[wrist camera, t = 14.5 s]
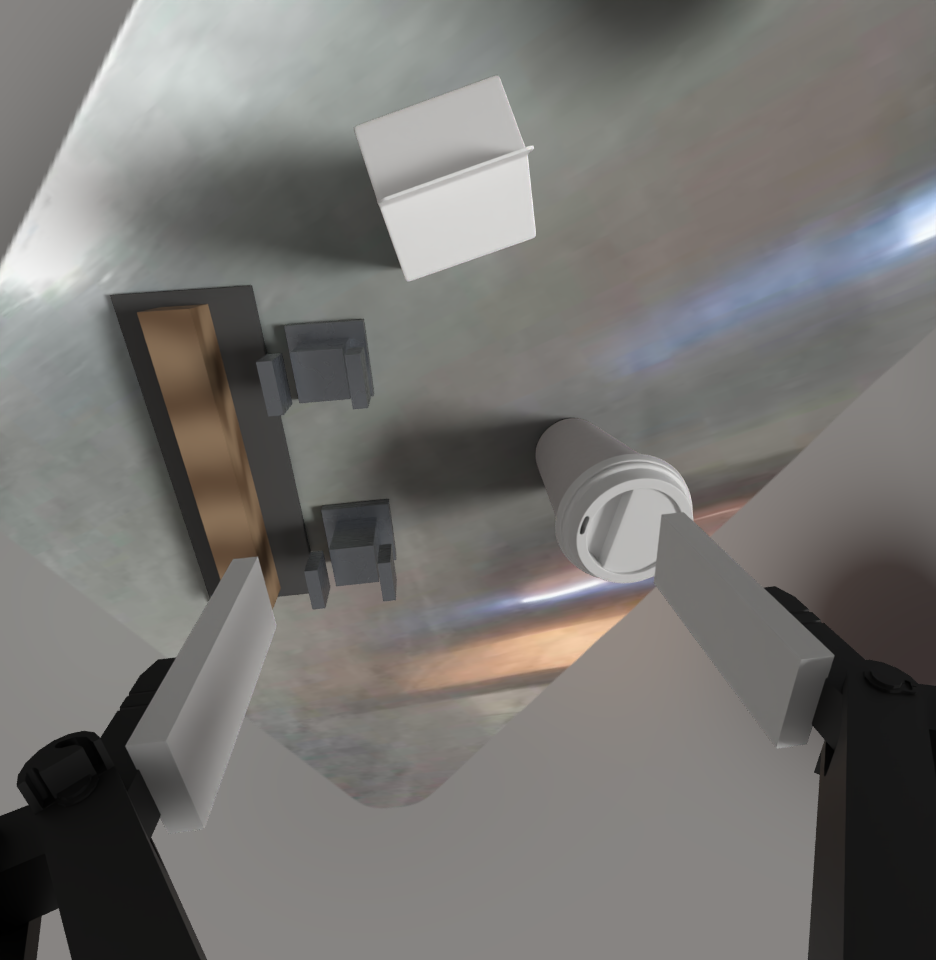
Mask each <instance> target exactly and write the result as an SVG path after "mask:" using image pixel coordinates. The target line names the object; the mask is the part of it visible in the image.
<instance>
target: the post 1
mask: <svg viewBox="0 0 936 960" xmlns="http://www.w3.org/2000/svg"><path fill="white" fill-rule="evenodd" d="M284 328H285V333H286V338H287V343H288V348H289V354H290V359H291V364H292V369H293V374H294V379H295V384H296V389H297V394H298V399H299V403H308V402H320V401H332V400H343V399H350V398H351V399H352V406H353V409H361V408H368V406H369V402H370V399H371V396H374V388H373V381H372V373H371V366H370V359H369V352H368V344H367V337H366V330H365V323H364V319H356V320H342V321H329V322H315V323H301V324H288V325H285V326H284ZM256 365H257V370H258V374H259V378H260V383H261V387H262V391H263V396H264V400H265V404H266V409H267V413H268V416H279V415H284V414H285V413H286V411H287V410H288V409H289V407H290V406H291V405H292V400H291V395H290V390H289V385H288V380H287V376H286V371H285V366H284V361H283V356H282V353H276V354H267V355H265V356H264V357H262V358H261V359H260V360H258V361H257V362H256Z"/></svg>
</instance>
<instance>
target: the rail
mask: <svg viewBox="0 0 936 960" xmlns="http://www.w3.org/2000/svg"><path fill="white" fill-rule="evenodd" d="M137 315H138V318H139V321H140V324H141V327H142V331H143V334H144V337H145V340H146V343H147V347H148V350H149V353H150V356H151V359H152V363H153V366H154V369H155V372H156V375H157V378H158V382H159V385H160V388H161V391H162V394H163V398H164V401H165V404H166V407H167V410H168V414H169V417H170V420H171V423H172V426H173V430H174V433H175V436H176V439H177V442H178V446H179V449H180V452H181V455H182V458H183V461H184V465H185V468H186V471H187V474H188V477H189V481H190V484H191V487H192V490H193V493H194V497H195V500H196V503H197V506H198V509H199V513H200V516H201V519H202V522H203V525H204V529H205V532H206V535H207V538H208V541H209V545H210V548H211V551H212V554H213V557H214V560H215V564H216V567H217V570H218V573H219V576H220V580H221V579H222V577H223V576H224V574H225V572H226V570H227V569H228V567H229V565H230V563H231V562H232V560H233V559H240V558H249V557H258V559H259V563H260V566H261V570H262V574H263V577H264V581H265V585H266V588H267V592H268V596H269V599H270V603H271V607H272V610H273V607H274V604H275V602H276V599H277V597H278V594H279V591H280V589H281V587H280V583H279V579H278V576H277V572H276V568H275V564H274V560H273V556H272V552H271V548H270V544H269V540H268V537H267V533H266V529H265V525H264V521H263V517H262V513H261V509H260V505H259V501H258V497H257V494H256V490H255V486H254V482H253V478H252V474H251V470H250V466H249V462H248V458H247V455H246V451H245V447H244V443H243V439H242V435H241V431H240V427H239V423H238V419H237V416H236V412H235V408H234V404H233V400H232V396H231V392H230V388H229V384H228V380H227V377H226V373H225V369H224V365H223V361H222V357H221V353H220V349H219V345H218V341H217V337H216V334H215V330H214V326H213V322H212V318H211V314H210V310H209V306H208V304H202V305H188V306H173V307H159V308H155V309H150V310H146V311H141V312H137Z"/></svg>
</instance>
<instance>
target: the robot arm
mask: <svg viewBox="0 0 936 960" xmlns="http://www.w3.org/2000/svg"><path fill="white" fill-rule="evenodd" d="M654 584H655V585H656V587H657V588H658V589H659V590H660V592H661V593H662V595H663V596H664V597H665V599H666V600H667V601H668V603H669V604H670V606H671V607H672V608H673V610H674V611H675V612H676V613H677V615H678V616H679V618H680V619H681V620H682V622H683V623H684V624H685V626H686V627H687V629H688V630H689V631H690V633H691V634H692V635H693V637H694V638H695V639H696V641H697V642H698V643H699V645H700V646H701V647H702V649H703V650H704V652H705V653H706V654H707V656H708V657H709V658H710V660H711V661H712V662H713V663H714V665H715V666H716V668H717V669H718V671H719V672H720V673H721V675H722V676H723V677H724V679H725V680H726V681H727V683H728V684H729V685H730V687H731V688H732V689H733V691H734V692H735V694H736V695H737V696H738V698H739V699H740V700H741V702H742V703H743V704H744V706H745V707H746V708H747V710H748V711H749V712H750V714H751V715H752V717H753V718H754V719H755V721H756V722H757V723H758V725H759V726H760V727H761V729H762V730H763V731H764V733H765V734H766V736H767V737H768V738H769V740H770V741H771V742H772V744H773V745H774V746H775V748H784V747H790V746H798V745H805V744H807V742H808V739H809V736H810V732H811V729H812V726H814V728H815V729H816V730H817V731H818V732H819V733H820V735H821V736H822V737H823V738H824V739H825V741H824V744H823V747H822V750H821V753H820V756H819V759H818V762H817V765H816V768H815V771H814V773H817V774H819V775H820V780H819V796H818V811H817V827H816V842H815V857H814V873H813V889H812V904H811V920H810V935H809V936H810V937H809V952H808V960H936V686H932V685H923V684H918V683H917V682H916V681H915V680H913V679H912V677H910V676H909V675H908V674H906V673H904V672H902V671H901V670H899V669H898V668H896V667H893V666H890V665H888V664H885V663H882V662H878V661H873V660H865V659H864V658H863V657H861V656H860V655H859V654H858V653H857V652H856V651H855V650H854V649H853V648H851V647H850V646H849V645H848V644H847V643H846V642H845V641H844V640H842V639H841V638H840V637H839V636H838V635H837V634H836V633H835V632H834V631H832V630H831V629H830V628H829V627H828V626H827V625H826V624H825V623H821V620H820V619H819V618H818V617H817V616H816V615H815V614H813V613H812V612H809V609H808V608H807V607H806V606H804V605H803V604H802V603H801V602H800V601H799V600H798V599H797V598H796V597H794V596H792V595H790V594H789V593H786V592H785V591H783V590H781V589H779V588H777V587H775V586H774V587H766V588H763V587H762V586H761V585H760V584H759V583H758V582H757V581H756V580H755V579H754V578H753V577H752V576H750V575H749V574H748V573H747V572H746V571H745V570H744V569H743V568H742V567H741V566H740V565H739V564H738V563H737V562H736V561H735V560H734V559H733V558H731V557H730V556H729V555H728V554H727V553H726V552H725V551H724V550H723V549H722V548H721V547H720V546H719V545H718V544H717V543H716V542H715V541H714V540H712V539H711V538H710V537H709V536H708V535H707V534H706V533H705V532H704V531H703V530H702V529H701V528H700V527H699V526H698V525H697V524H696V523H695V522H694V521H692V520H691V519H690V518H689V517H688V516H687V515H686V514H685V513H684V512H680V513H671V514H661V523H660V532H659V541H658V550H657V559H656V568H655V577H654ZM276 626H277V625H276V622H275V618H274V614H273V611H272V607H271V603H270V599H269V596H268V592H267V588H266V585H265V581H264V577H263V574H262V570H261V566H260V563H259V559H258V557H249V558H240V559H233V560H232V562H231V563H230V565H229V567H228V569H227V570H226V572H225V574H224V576H223V577H222V579H221V581H220V582H219V584H218V586H217V588H216V589H215V591H214V593H213V595H212V596H211V598H210V600H209V602H208V603H207V605H206V607H205V608H204V610H203V612H202V614H201V615H200V617H199V619H198V621H197V622H196V624H195V626H194V628H193V629H192V631H191V633H190V634H189V636H188V638H187V640H186V641H185V643H184V645H183V647H182V648H181V650H180V652H179V654H178V655H177V657H176V658H168V659H159V660H157V661H156V662H155V663H154V664H153V665H151V666H150V667H149V668H148V669H147V670H146V671H145V672H144V673H142V674H141V675H140V676H139V678H138V680H137V681H136V683H135V684H134V686H133V688H132V689H131V691H130V692H129V696H127V697H126V698H125V700H124V702H123V703H122V705H121V706H120V711H117V713H116V714H115V716H114V717H113V719H112V720H111V722H110V724H109V725H108V727H107V728H106V730H105V731H104V733H103V735H102V736H101V738H100V737H99V736H98V735H97V734H96V733H94V732H88V731H81V732H76V733H71V734H68V735H65V736H63V737H61V738H59V739H57V740H54V741H52V742H51V743H49V744H48V745H46V746H45V747H43V748H42V749H40V750H39V751H38V752H37V753H36V754H35V755H34V756H32V758H30V760H28V761H27V762H26V763H25V765H24V767H23V768H22V770H21V771H20V773H19V774H18V779H17V787H18V789H19V790H20V792H21V793H22V795H23V797H24V798H25V799H26V801H27V803H28V804H29V805H28V806H25V807H22V808H20V809H17V810H15V811H12V812H9V813H7V814H4V815H2V816H0V960H36V958H37V951H38V942H39V934H40V925H41V917H42V915H45V914H47V913H49V912H51V911H53V910H56V909H58V908H59V911H60V915H61V919H62V923H63V927H64V931H65V934H66V938H67V942H68V946H69V950H70V954H71V958H72V960H207V959H206V956H205V954H204V952H203V950H202V948H201V945H200V943H199V941H198V939H197V936H196V934H195V932H194V930H193V928H192V925H191V923H190V921H189V919H188V917H187V915H186V912H185V910H184V908H183V906H182V903H181V901H180V899H179V897H178V895H177V892H176V890H175V888H174V886H173V884H172V881H171V879H170V877H169V875H168V872H167V870H166V868H165V866H164V864H163V862H162V859H161V857H160V855H159V853H158V851H157V848H156V846H155V844H154V842H153V840H152V838H151V836H152V834H153V832H154V830H155V827H156V825H157V823H158V821H159V818H161V821H162V823H163V825H164V827H165V829H166V831H167V833H168V834H171V833H179V832H186V831H193V830H200V829H204V828H205V826H206V823H207V820H208V817H209V814H210V812H211V808H212V806H213V803H214V800H215V798H216V795H217V792H218V789H219V786H220V784H221V781H222V778H223V775H224V772H225V769H226V767H227V764H228V761H229V758H230V755H231V753H232V750H233V747H234V744H235V741H236V738H237V736H238V733H239V730H240V727H241V724H242V722H243V719H244V716H245V713H246V711H247V708H248V705H249V702H250V699H251V697H252V694H253V691H254V688H255V685H256V683H257V680H258V677H259V674H260V671H261V669H262V666H263V663H264V660H265V657H266V655H267V652H268V649H269V646H270V643H271V640H272V638H273V635H274V632H275V629H276Z"/></svg>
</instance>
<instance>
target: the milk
mask: <svg viewBox="0 0 936 960" xmlns="http://www.w3.org/2000/svg"><path fill="white" fill-rule="evenodd" d="M354 131H355V134H356V138H357V141H358V144H359V147H360V150H361V153H362V156H363V159H364V162H365V165H366V168H367V171H368V174H369V177H370V180H371V183H372V186H373V189H374V192H375V195H376V198H377V203H378V205H379V207H380V210H381V213H382V215H383V218H384V221H385V224H386V226H387V229H388V232H389V235H390V238H391V240H392V243H393V246H394V249H395V252H396V254H397V257H398V260H399V263H400V265H401V268H402V271H403V274H404V277H405V279H406V281H408V282H409V281H412V280H415V279H418V278H421V277H424V276H427V275H429V274H432V273H435V272H438V271H441V270H444V269H447V268H449V267H452V266H455V265H458V264H461V263H464V262H467V261H470V260H472V259H475V258H478V257H481V256H484V255H487V254H490V253H492V252H495V251H498V250H501V249H504V248H507V247H510V246H512V245H515V244H518V243H521V242H524V241H527V240H530V239H532V238H534V237H535V236H536V230H535V221H534V211H533V201H532V192H531V182H530V173H529V163H528V154H529V153H530V152H531V151H532V150H533V149H534V146H528V147H525V145H524V142H523V139H522V137H521V134H520V131H519V129H518V126H517V123H516V120H515V118H514V115H513V112H512V110H511V107H510V104H509V101H508V99H507V96H506V93H505V91H504V88H503V85H502V82H501V80H500V78H499V76H498V75H495V76H492V77H489V78H487V79H484V80H481V81H478V82H476V83H473V84H470V85H467V86H464V87H462V88H459V89H456V90H453V91H451V92H448V93H445V94H442V95H440V96H437V97H434V98H431V99H428V100H426V101H423V102H420V103H417V104H415V105H412V106H409V107H406V108H404V109H401V110H398V111H395V112H392V113H390V114H387V115H384V116H381V117H379V118H376V119H373V120H370V121H368V122H365V123H362V124H359V125H357V126H355V127H354Z"/></svg>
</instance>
